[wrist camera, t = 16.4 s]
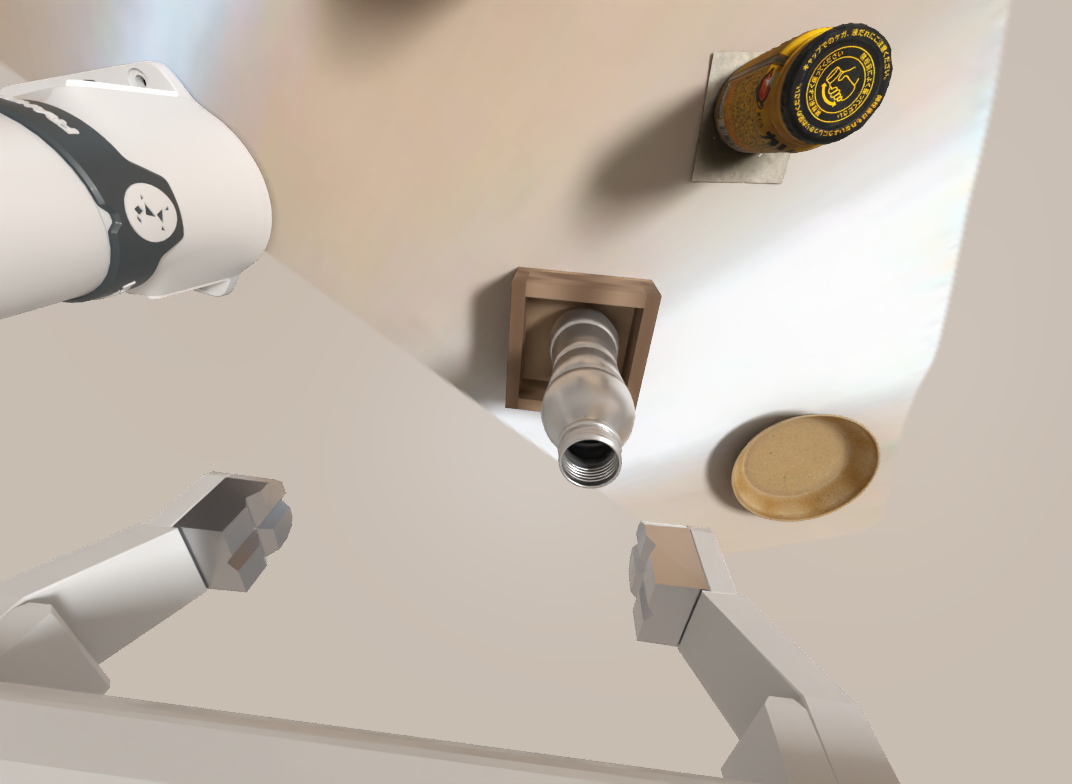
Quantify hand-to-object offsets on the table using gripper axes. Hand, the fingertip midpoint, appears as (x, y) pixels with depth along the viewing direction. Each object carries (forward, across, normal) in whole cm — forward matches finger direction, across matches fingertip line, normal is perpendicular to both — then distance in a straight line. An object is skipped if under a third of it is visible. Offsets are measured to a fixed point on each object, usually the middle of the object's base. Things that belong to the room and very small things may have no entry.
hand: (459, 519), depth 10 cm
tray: (+33, -4, +8) cm, 34 cm away
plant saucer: (+34, -30, +20) cm, 49 cm away
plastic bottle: (+33, -4, +8) cm, 34 cm away
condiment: (+34, -15, -11) cm, 38 cm away
